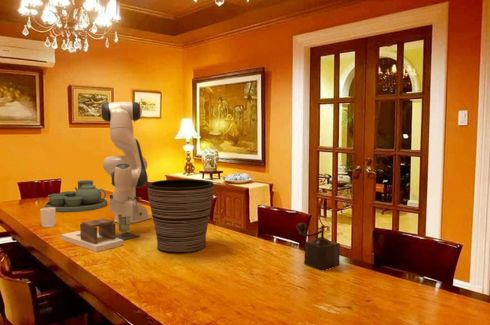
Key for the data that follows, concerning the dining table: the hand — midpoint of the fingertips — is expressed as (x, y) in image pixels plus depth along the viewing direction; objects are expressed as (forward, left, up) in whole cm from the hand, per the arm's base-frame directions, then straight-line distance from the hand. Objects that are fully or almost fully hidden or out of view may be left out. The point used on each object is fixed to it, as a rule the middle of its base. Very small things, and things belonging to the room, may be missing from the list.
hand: (124, 223), depth 207 cm
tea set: (-25, -93, -8) cm, 97 cm away
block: (0, 0, -4) cm, 4 cm away
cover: (+16, +2, -4) cm, 17 cm away
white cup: (+14, -52, -7) cm, 54 cm away
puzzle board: (+16, -4, -7) cm, 18 cm away
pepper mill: (-24, +97, -7) cm, 100 cm away
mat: (0, 0, -7) cm, 7 cm away
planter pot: (-7, +35, -7) cm, 36 cm away
